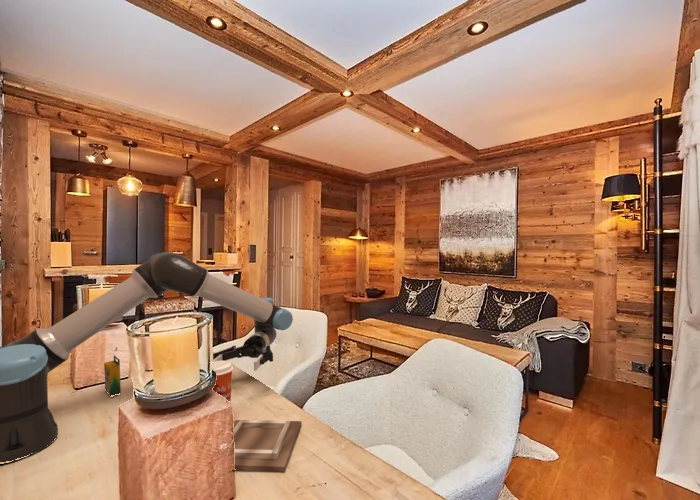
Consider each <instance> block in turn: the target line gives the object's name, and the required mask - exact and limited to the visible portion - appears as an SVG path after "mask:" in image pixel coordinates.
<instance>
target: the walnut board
mask: <svg viewBox="0 0 700 500" xmlns="http://www.w3.org/2000/svg"><path fill="white" fill-rule="evenodd" d="M233 422H234V442H235V469H236V472H262V473H263V472H264V473H265V472H267V473H285V472H286V470H287V467H288V464H289V462H290V460H291V459H290V458H291V456H292V454H293V450H294V447H295V445H296V442H297V439H298V436H299V434H300V430H301V429H302V421H300V420H270V419H269V420H265V419H264V420H262V419H235V420H234V421H233ZM300 428H301V429H300Z"/></svg>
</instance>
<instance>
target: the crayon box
mask: <svg viewBox="0 0 700 500" xmlns="http://www.w3.org/2000/svg"><path fill="white" fill-rule="evenodd" d="M120 363H121V362H120V359H119V358H118V357H117V356H116V355H113V360H111V361H110V360H109V361H107V362H106V361H105V362H103V366H104V367H103V370H104V390H105V389H106V391H107V392H108V393H109V394H110V396H111V395H115V394H119V393H121V394H122V387H121V364H120ZM106 391H105V392H106ZM107 392H106V393H107ZM108 393H107V394H108ZM110 396H109V397H110Z"/></svg>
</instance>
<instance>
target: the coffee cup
mask: <svg viewBox="0 0 700 500" xmlns="http://www.w3.org/2000/svg"><path fill="white" fill-rule="evenodd" d="M211 369H212V370H213V371H215V372H216V375H217V380H216V385H215V386H214V388H213V390H214V391H215V392H217V393H218V394H220V395H222V396H223V397H225V398H226V399H227V400H228V401H230V402H231V400H232V399H231V398H232V381H233V380H232V379H233V370H234V366H233V365H232V362H230V361H229V360H226V361H214V362H212V363H211Z"/></svg>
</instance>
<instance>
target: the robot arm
mask: <svg viewBox="0 0 700 500" xmlns="http://www.w3.org/2000/svg"><path fill="white" fill-rule="evenodd" d="M168 291H173V292H177V293H180V294H183V295H186V296H189V297H196V296H198V297H200V298H202V299H205V300H207V301H210V302H212V303H215V304H216V305H219V306H221V307H224V308H226V309H228V310H231V311H233V312H235V313H238V314H241V315H243V316H246V317H248V318H251V319H253V320H254V333H253V334H252V335H250V336H249V337H248V338H246V339H245V341H244V342H243V345H241V346H239V347H237V346H236V345H232V346H230V347H228V348H226V349H222V350H220V351H217V352H214V353H213V354H212V360H211V361H212V362H214V361H229V360H232V359H235V358H237V359H240V358H244V357H248V358H251V359H255V360H254V361H253V371H257V370H258V369H259V368H260V367H261V366H262V365H265V363H267V362H268V361H269V362H271V363H272V362H274V353H273V352H272V350H271V345H272V344H273V343H274V342H275V340H276V338H277V334H278V333H277V331H278V330H280V331H286V330H288V329H289V328H290V327H291V325H292V324H293V320H294V319H293V315H292V312H291V311H290V310H288V309H286V308H282V307H280V306H278V305H275V304H274V299H273V298H272V297H259V296H256V295H255V294H252V293H250V292H248V291H246V290H243V289H241V288H240V287H237V286H235V285H233V284H231V283H228V282H227V281H224V280H223V279H221V278H218V277H217V276H214V275H212V274H209V270H208V269H207V268H205V267H202V266H201V265H199V264H197V263H195V262H194V261H192V260H191V259H189V258H187V257H185V256H184V255H182V254H179V253H175V252H170V251H163V252H158V253H154V254H153V255H151V256H150V257H149V258H148V259H147V260H146V261H145V262H143V263H141V264H139V266H136V267H135V268H134V269H132V272H131V275H130V277H128V278H127V279H125V280H124V281H122V282H121V283H118V285H115V286H114V287H113V288H111V289H109V290H108V291H106V292H104V293H102V295H99V296H98V297H96V298H95V299H93V300H91V301H90V302H89V303H87V304H85V305H84V306H82V307H81V308H79V309H78V310H76V311H74V312H73V313H71V314H69V315H68V316H66V317H64V318H63V319H62V320H60V321H58V322H57V323H55V324H53V325H52V326H50V327H49V328H41V327H40V328H37V329H35V330H33V331H32V332H30V333H29V334H27V335H25V336H24V337H22V338H21V339H19V338H18V339H16V340H14V341H12V342H10V343H8V344H6V345H5V346H4V347H2V348H0V462H6V461H12V460H15V459H17V458H21V457H24V456H27V455H29V454H31V453H34V452H37V451H39V450H41V449H42V448H44V447H46V446H47V445H49V444H50V443H51V442H52V441H54V439H55V438H56V437H57V435H58V436H59V426H58V424H57V422H56V421H55V418H54V415H53V414H52V412H51V410H50V408H49V404H48V403H49V401H48V400H49V397H48V396H49V394H48V392H49V389H48V375H49V373H50V372H52V371H53V370H54V369H55V368H57V367H59V366H60V365H61V364H63V363H65V362H66V361H68V360H69V358H70V354H71V351H72V350H74V349H75V348H77V347H78V346H80V345H82V344H83V343H84V342H86V341H87V340H89V339H91V338H92V337H94V336H95V335H96V334H98V333H99V332H100V331H102V330H104V329H105V328H106V327H108V326H110V325H111V324H112V323H114V322H116V321H117V320H118V319H119V318H121V317H123V316H124V315H125V314H127V313H128V312H130V311H131V310H134V308H136V307H137V306H139V305H140V304H142V303H144V302H145V301H147V300H148V299H149V298H154V299H157V298H159V297H160V296H162V295H164V293H166V292H168ZM57 438H58V437H57ZM54 442H55V441H54ZM50 445H51V444H50ZM50 445H49V446H50ZM47 447H48V446H47ZM47 447H46V448H47ZM44 449H45V448H44ZM41 451H42V450H41ZM39 452H40V451H39ZM37 453H38V452H37Z"/></svg>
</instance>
